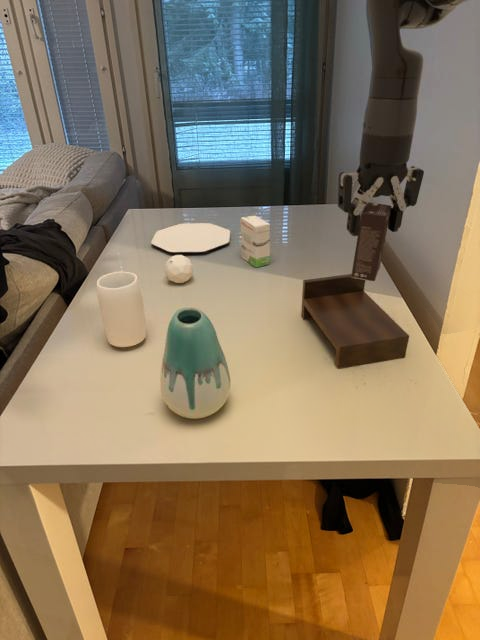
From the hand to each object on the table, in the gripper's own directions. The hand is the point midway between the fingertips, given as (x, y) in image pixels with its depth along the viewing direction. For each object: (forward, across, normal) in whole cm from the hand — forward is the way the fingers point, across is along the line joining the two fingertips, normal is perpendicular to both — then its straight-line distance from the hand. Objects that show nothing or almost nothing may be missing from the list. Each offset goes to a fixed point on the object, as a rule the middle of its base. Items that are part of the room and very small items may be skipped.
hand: (373, 232), depth 80 cm
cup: (+25, -44, +15) cm, 53 cm away
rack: (+25, +1, +5) cm, 25 cm away
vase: (+25, -33, -8) cm, 42 cm away
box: (+8, 0, 0) cm, 8 cm away
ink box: (+26, -8, +47) cm, 54 cm away
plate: (+26, -23, +67) cm, 75 cm away
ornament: (+25, -30, +40) cm, 56 cm away
